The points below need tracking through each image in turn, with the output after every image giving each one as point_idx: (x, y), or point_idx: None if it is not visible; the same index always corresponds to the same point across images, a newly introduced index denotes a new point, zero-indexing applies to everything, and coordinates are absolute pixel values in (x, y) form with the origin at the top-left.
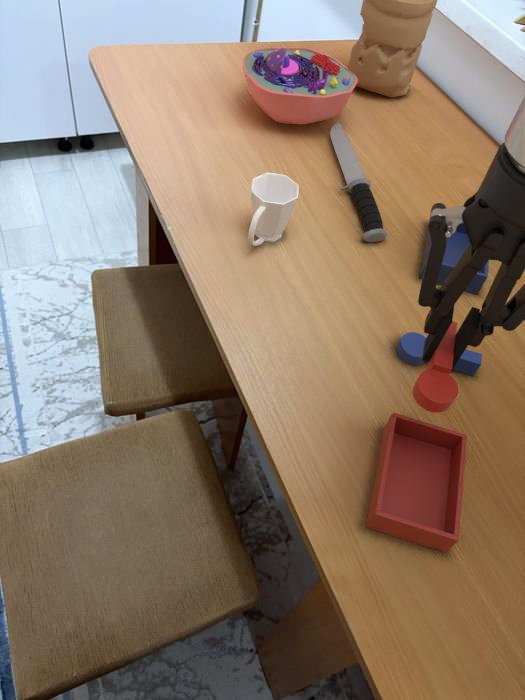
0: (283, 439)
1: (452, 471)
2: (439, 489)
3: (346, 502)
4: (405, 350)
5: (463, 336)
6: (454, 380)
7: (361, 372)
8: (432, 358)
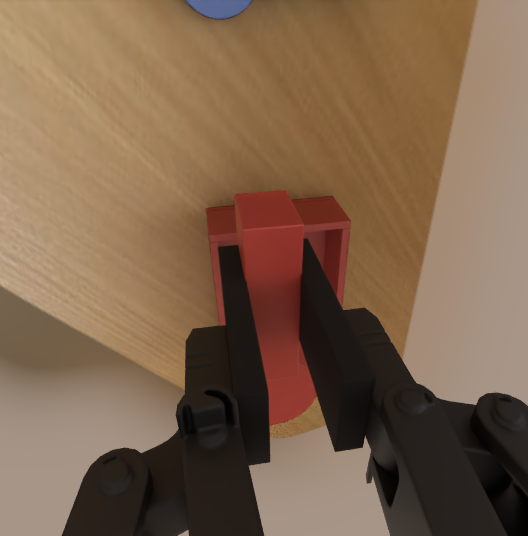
0: (57, 293)
1: (328, 255)
2: None
3: (188, 331)
4: (194, 8)
5: (318, 392)
6: (307, 370)
7: (118, 96)
8: None
